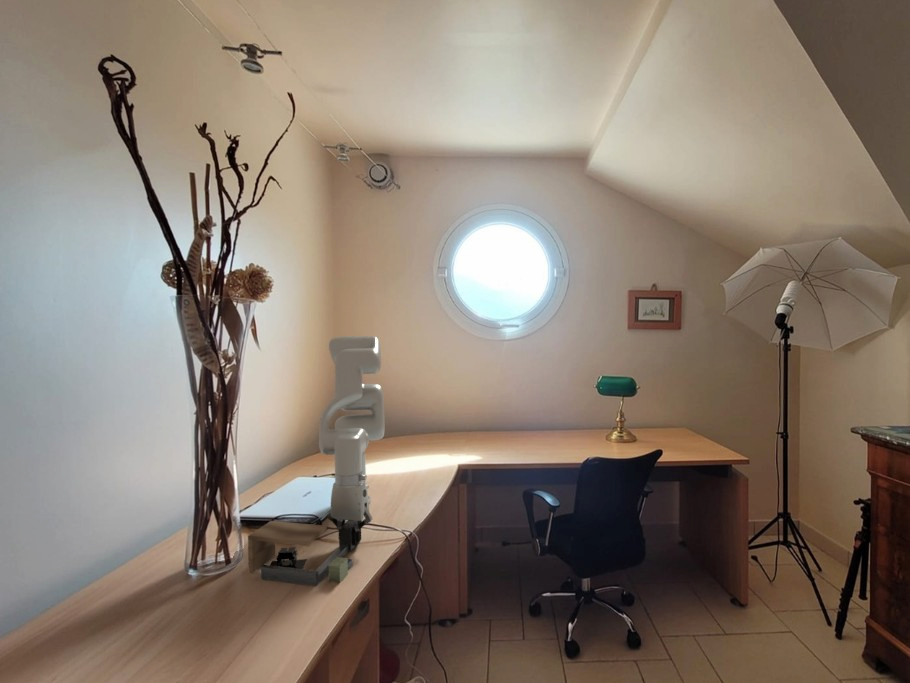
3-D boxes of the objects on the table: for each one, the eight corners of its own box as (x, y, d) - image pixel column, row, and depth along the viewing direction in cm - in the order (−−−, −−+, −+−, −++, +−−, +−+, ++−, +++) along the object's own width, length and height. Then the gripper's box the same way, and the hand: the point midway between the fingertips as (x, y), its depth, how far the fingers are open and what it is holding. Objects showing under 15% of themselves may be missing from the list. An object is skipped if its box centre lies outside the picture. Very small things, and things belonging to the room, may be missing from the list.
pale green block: (344, 564, 111) (344, 549, 111) (355, 565, 111) (354, 550, 111) (328, 581, 103) (328, 565, 103) (340, 583, 103) (339, 566, 103)
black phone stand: (314, 559, 115) (314, 542, 115) (307, 574, 108) (307, 556, 108) (267, 561, 115) (267, 544, 115) (257, 576, 107) (256, 558, 107)
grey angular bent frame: (311, 536, 127) (311, 516, 127) (360, 540, 123) (360, 520, 123) (261, 579, 105) (260, 555, 105) (318, 586, 101) (318, 561, 101)
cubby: (271, 555, 117) (270, 520, 117) (328, 561, 113) (327, 525, 113) (248, 573, 108) (248, 535, 108) (309, 580, 104) (308, 541, 104)
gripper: (381, 475, 123) (382, 539, 123) (329, 472, 126) (330, 534, 126) (370, 484, 115) (371, 552, 115) (315, 481, 119) (316, 546, 119)
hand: (350, 542), depth 121 cm, fingers closed on grey angular bent frame, 3 cm apart
